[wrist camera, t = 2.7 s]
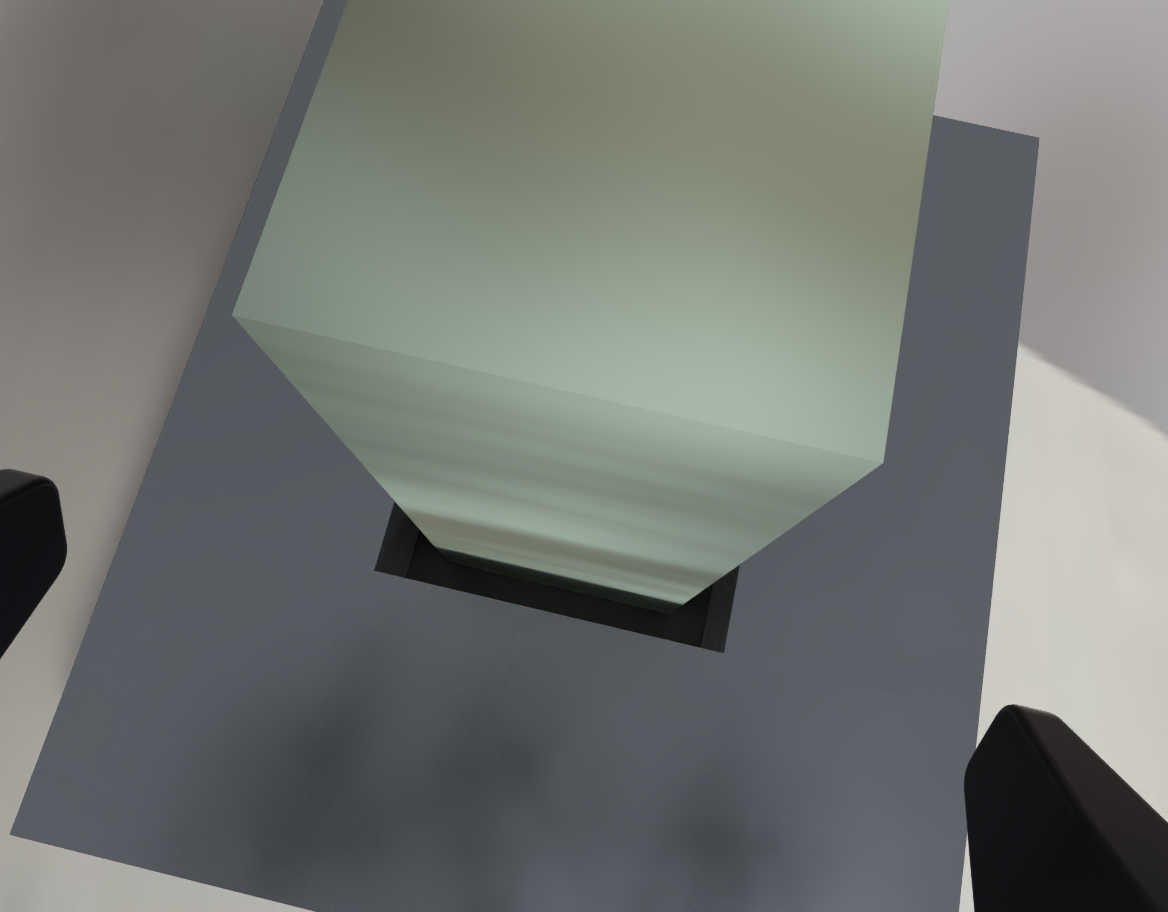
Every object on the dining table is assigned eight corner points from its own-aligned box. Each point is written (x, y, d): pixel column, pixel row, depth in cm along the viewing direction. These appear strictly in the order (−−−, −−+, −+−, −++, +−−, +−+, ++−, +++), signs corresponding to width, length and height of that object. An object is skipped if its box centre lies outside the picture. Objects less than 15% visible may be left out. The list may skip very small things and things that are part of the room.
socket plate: (877, 1004, 17) (942, 1068, 14) (100, 811, 18) (9, 834, 15) (975, 211, 22) (1039, 137, 19) (359, 78, 22) (328, -14, 19)
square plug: (669, 613, 19) (883, 462, 6) (448, 561, 19) (230, 315, 7) (711, 402, 20) (959, -67, 8) (504, 355, 20) (414, -179, 8)
